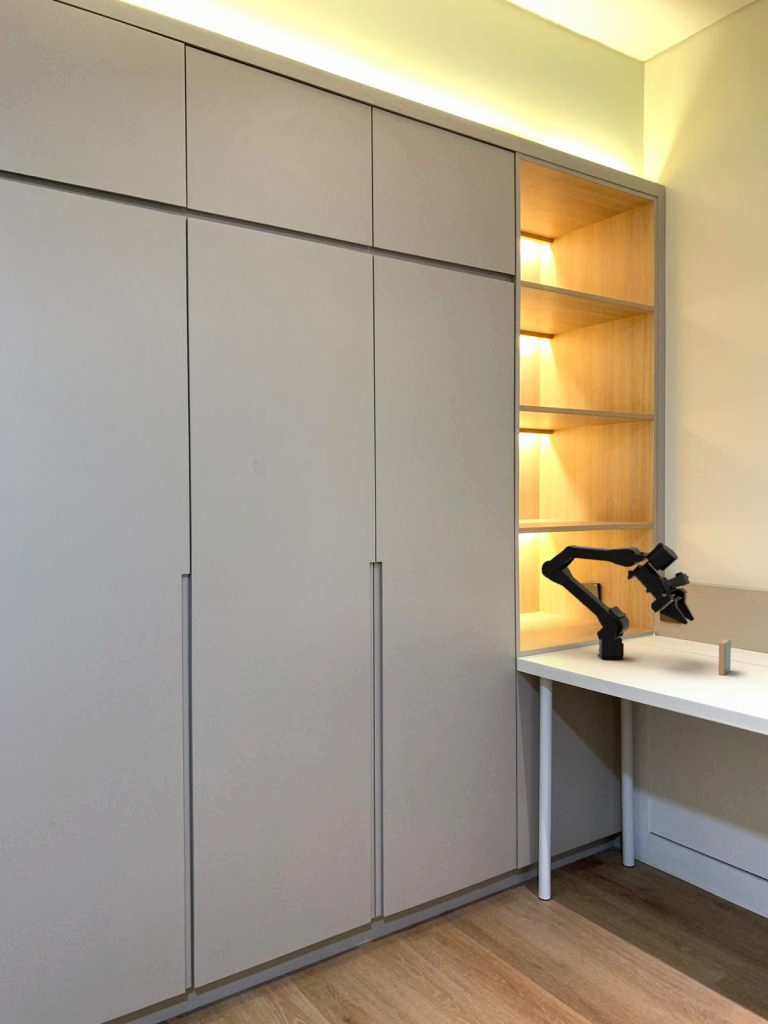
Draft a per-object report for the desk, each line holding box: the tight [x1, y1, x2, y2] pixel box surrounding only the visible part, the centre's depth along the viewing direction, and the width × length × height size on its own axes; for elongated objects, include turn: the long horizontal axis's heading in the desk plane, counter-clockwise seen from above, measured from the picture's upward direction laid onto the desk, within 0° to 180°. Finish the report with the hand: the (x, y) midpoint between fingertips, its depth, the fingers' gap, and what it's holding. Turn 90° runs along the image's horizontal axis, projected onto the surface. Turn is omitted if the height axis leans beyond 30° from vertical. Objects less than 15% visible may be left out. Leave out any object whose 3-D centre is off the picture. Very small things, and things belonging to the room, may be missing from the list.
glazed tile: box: [718, 638, 732, 676], centre depth 220 cm, size 2×7×9 cm, turn 144°
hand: (689, 621), depth 225 cm, fingers open, 7 cm apart
